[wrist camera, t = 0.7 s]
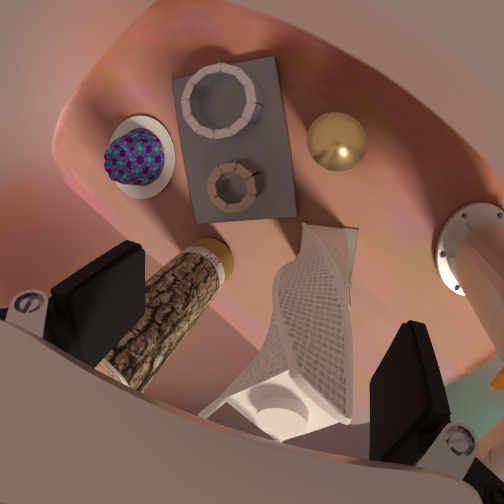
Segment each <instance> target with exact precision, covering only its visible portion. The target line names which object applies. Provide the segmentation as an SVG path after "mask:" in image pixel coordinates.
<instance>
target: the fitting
mask: <svg viewBox="0 0 504 504" xmlns="http://www.w3.org/2000/svg"><path fill="white" fill-rule="evenodd" d="M307 146H308V150H309V152H310V154H311V156H312V158H313V159H314V160H315V161H316V162H317V163H318V164H319V165H321V166H322V167H324V168H326V169H328V170H332V171H345V170H349V169H351V168H353V167H355V166H356V165H357V164H358V163H359V162H360V161H361V160H362V159H363V157H364V155H365V152H366V149H367V137H366V133H365V131H364V129H363V127H362V125H361V124H360V123H359V122H358V121H357V120H356V119H355V118H353V117H352V116H350V115H348V114H346V113H342V112H329V113H325V114H323V115H321V116H320V117H318V118H317V119H316V120H315V121H314V122H313V123H312V124H311V126H310V128H309V131H308V134H307Z"/></svg>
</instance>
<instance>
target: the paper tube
mask: <svg viewBox="0 0 504 504" xmlns="http://www.w3.org/2000/svg"><path fill="white" fill-rule="evenodd" d="M233 267H234V261H233V256H232V254H231V252H230V250H229V249H228V247H227V246H226V245H225V244H224V243H222V242H221V241H219V240H217V239H214V238H210V237H204V238H200V239H198V240H196V241H195V242H193V243H192V244H191V245H190V246H189V247H187V248H186V249H185V250H183V251H182V252H181V253H180V254H178V255H177V256H176V257H175V258H174V259H172V260H171V261H170V262H169V263H168V264H166V265H165V266H164V267H163V268H161V269H160V270H159V271H158V272H157V273H155V274H154V275H153V276H152V277H151V278H150V279H149V280H147V281H146V282H145V304H146V310H145V314H144V316H143V317H142V318H141V319H140V320H139V322H138V323H137V324H136V325H135V326H134V327H133V328H132V329H131V330H130V331H129V332H128V333H127V334H126V335H125V336H124V337H123V338H122V339H121V340H120V342H119V343H118V344H117V345H116V346H115V347H114V348H113V349H112V350H111V351H110V352H109V353H108V354H107V355H106V356H105V358H104V359H103V360H102V361H101V362H100V363H99V364H98V365H97V366H96V367H95V368H94V369H96V370H98V371H99V372H101V373H103V374H105V375H107V376H109V377H111V378H113V379H115V380H116V381H118V382H120V383H122V384H124V385H126V386H128V387H131V388H133V389H135V390H137V391H139V392H141V393H143V392H144V391H145V389H146V388H147V387H148V385H149V384H150V382H151V381H152V380H153V379H154V377H155V376H156V375H157V373H158V372H159V370H160V369H161V368H162V366H163V365H164V364H165V362H166V361H167V360H168V358H169V357H170V355H171V354H172V353H173V352H174V350H175V349H176V347H177V346H178V345H179V344H180V342H181V341H182V340H183V338H184V337H185V336H186V334H187V333H188V331H189V330H190V329H191V327H192V326H193V325H194V324H195V322H196V321H197V319H198V318H199V317H200V315H201V314H202V313H203V311H204V310H205V309H206V307H207V306H208V305H209V303H210V302H211V301H212V299H213V298H214V297H215V295H216V294H217V293H218V291H219V290H220V289H221V287H222V286H223V284H224V283H225V282H226V280H227V279H228V278H229V276H230V275H231V273H232V271H233Z"/></svg>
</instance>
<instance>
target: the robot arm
mask: <svg viewBox="0 0 504 504" xmlns="http://www.w3.org/2000/svg"><path fill="white" fill-rule="evenodd" d="M463 213H464V214H463ZM462 214H463V216H462ZM497 214H498V215H497ZM441 251H442V253H440V252H441ZM435 260H436V266H437V271H438V273H439V275H440V277H441V279H442V280H443V282H444V284H445V285H446V286H447V287H448V288H449V289H450V290H452V291H453V292H455V293H457V294H460V295H464V296H466V297H467V299H468V301H469V302H470V304H471V306H472V308H473V309H474V311H475V313H476V315H477V316H478V318H479V320H480V322H481V324H482V325H483V327H484V329H485V331H486V333H487V335H488V337H489V339H490V341H491V342H492V344H493V346H494V348H495V350H496V352H497V354H498V356H499V357H500V359H501V360H502V362H503V363H504V211H502V210H501V209H500V208H498V207H497V206H495V205H493V204H490V203H486V202H475V203H470V204H468V205H465V206H463V207H461V208H460V209H459V210H457V211H456V212H455V213H454V214H453V215H452V216H451V217H450V218H449V219H448V220H447V222H446V223H445V225H444V226H443V228H442V230H441V232H440V234H439V237H438V240H437V244H436V251H435ZM51 294H52V297H50V298H49V299H48V297H47V295H46V294H45V293H44V292H42V291H39V290H27V291H24V292H21V293H19V294H18V295H16V296H15V297H14V298H13V299H12V301H11V303H10V306H9V308H5V309H4V308H3V309H0V504H504V417H503V418H502V419H501V420H500V421H499V422H498V423H497V424H496V425H495V426H494V427H493V428H491V429H490V430H489V432H487V433H486V434H485V435H484V436H483V437H482V438H481V439H480V440H479V441H478V439H477V436H476V434H475V433H474V431H473V430H472V429H471V428H470V427H469V426H468V425H466V424H464V423H461V422H451V421H450V414H451V413H450V409H449V404H448V400H447V396H446V392H445V388H444V384H443V381H442V377H441V373H440V370H439V366H438V363H437V359H436V356H435V353H434V350H433V346H432V343H431V340H430V337H429V334H428V331H427V328H426V325H425V324H424V323H420V322H416V321H412V320H409V321H408V322H407V323H403V324H402V325H401V327H400V329H399V330H398V332H397V334H396V336H395V338H394V340H393V342H392V344H391V345H390V347H389V349H388V351H387V353H386V354H385V356H384V358H383V360H382V361H381V363H380V365H379V366H378V368H377V370H376V371H375V373H374V375H373V376H372V378H371V381H370V453H369V460H365V459H358V458H352V457H346V456H340V455H335V454H329V453H324V452H319V451H314V450H309V449H305V448H300V447H296V446H292V445H287V444H284V443H280V442H276V441H272V440H268V439H265V438H261V437H258V436H254V435H251V434H248V433H244V432H241V431H238V430H235V429H232V428H228V427H226V426H223V425H220V424H217V423H214V422H211V421H208V420H206V419H203V418H200V417H197V416H195V415H192V414H190V413H187V412H185V411H182V410H180V409H177V408H175V407H173V406H170V405H168V404H165V403H163V402H161V401H158V400H156V399H154V398H152V397H150V396H147V395H145V394H143V393H141V392H139V391H137V390H135V389H133V388H131V387H128V386H126V385H124V384H122V383H120V382H118V381H116V380H115V379H113V378H111V377H109V376H107V375H105V374H103V373H101V372H99V371H98V370H96V369H94V368H95V367H96V366H97V365H98V364H99V363H100V362H101V361H102V360H103V359H104V358H105V356H106V355H107V354H108V353H109V352H110V351H111V350H112V349H113V348H114V347H115V346H116V345H117V344H118V343H119V342H120V340H121V339H122V338H123V337H124V336H125V335H126V334H127V333H128V332H129V331H130V330H131V329H132V328H133V327H134V326H135V325H136V324H137V323H138V322H139V320H140V319H141V318H142V317H143V316H144V314H145V310H146V304H145V251H144V249H142V246H141V245H140V244H138V243H135V242H132V241H129V240H126V241H124V242H122V243H120V244H119V245H117V246H116V247H114V248H112V249H111V250H109V251H108V252H106V253H105V254H103V255H101V256H100V257H98V258H97V259H95V260H94V261H92V262H90V263H89V264H87V265H86V266H84V267H83V268H81V269H80V270H78V271H77V272H75V273H74V274H72V275H71V276H69V277H68V278H66V279H65V280H63V281H62V282H60V283H59V284H58V285H56V286H55V287H53V288H52V289H51Z"/></svg>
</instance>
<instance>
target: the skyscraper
mask: <svg viewBox="0 0 504 504" xmlns="http://www.w3.org/2000/svg"><path fill="white" fill-rule="evenodd" d="M358 230H359V229H353V228H345V227H337V226H329V225H320V224H312V223H305V222H302V226H301V239H300V251H299V254H298V256H297V257H296V258H295V260H293V261H291V262H289V263H287V264H285V265H284V266H283V267H281V268H280V269H279V271H278V272H277V274H276V275H275V278H274V282H273V288H272V301H273V313H272V319H271V323H270V327H269V330H268V333H267V336H266V339H265V342H264V344H263V346H262V348H261V350H260V352H259V353H258V354H257V356H256V357H255V358H254V359H253V360H252V362H250V364H249V365H248V366H247V367H246V368H245V369H244V370H243V371H242V373H241V374H240V375H239V376H238V377H237V378H236V379H235V380H234V382H233V383H232V384H231V385H230V386H229V387H228V388H227V389H226V390H225V391H224V393H223V394H222V395H221V396H220V397H218V398H217V399H216V400H215V401H213V402H212V403H211V404H210V405H209V406H207V407H206V408H205V409H204V410H202V411H201V412H200V413H199V414H198V415H199V417H200V418H203V419H206V420H207V418H208V417H209V416H210V415H211V414H212V413H213V412H214V411H216V410H217V409H218V408H219V407H220V406H222V405H223V404H224V403H225V402H226V401H227V402H228V403H229V404H230V405H232V406H233V407H234V408H235V409H236V410H238V411H239V412H240V413H241V414H243V415H244V416H245V417H246V418H247V419H249V420H250V421H251V422H253V423H254V424H255V425H256V426H258V427H259V428H260V429H262V430H263V431H264V432H266V433H267V434H268V435H270V436H271V437H272V438H274V439H275V440H274V441H276V442H280V443H282V441H283V440H286V439H289V438H293V437H296V436H299V435H303V434H306V433H309V432H312V431H315V430H318V429H321V428H324V427H327V426H330V425H333V424H336V423H338V422H341V423H343V424H346V425H348V424H349V423H350V422H351V419H352V406H353V344H352V329H351V320H350V312H349V310H350V309H351V303H350V290H351V289H352V286H351V275H352V269H353V263H354V257H355V251H356V244H357V238H358Z"/></svg>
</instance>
